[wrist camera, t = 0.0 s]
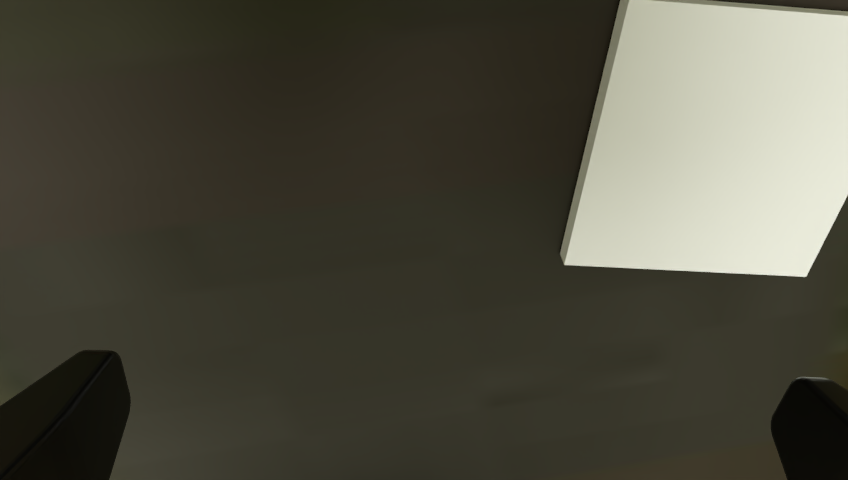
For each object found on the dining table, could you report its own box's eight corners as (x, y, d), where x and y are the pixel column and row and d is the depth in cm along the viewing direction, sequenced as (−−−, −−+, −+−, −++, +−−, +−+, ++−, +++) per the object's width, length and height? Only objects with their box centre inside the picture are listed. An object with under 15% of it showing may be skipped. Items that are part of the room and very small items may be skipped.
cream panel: (795, 265, 26) (806, 276, 25) (559, 253, 25) (564, 264, 24) (917, 16, 20) (935, 22, 20) (621, -7, 20) (629, -2, 19)
